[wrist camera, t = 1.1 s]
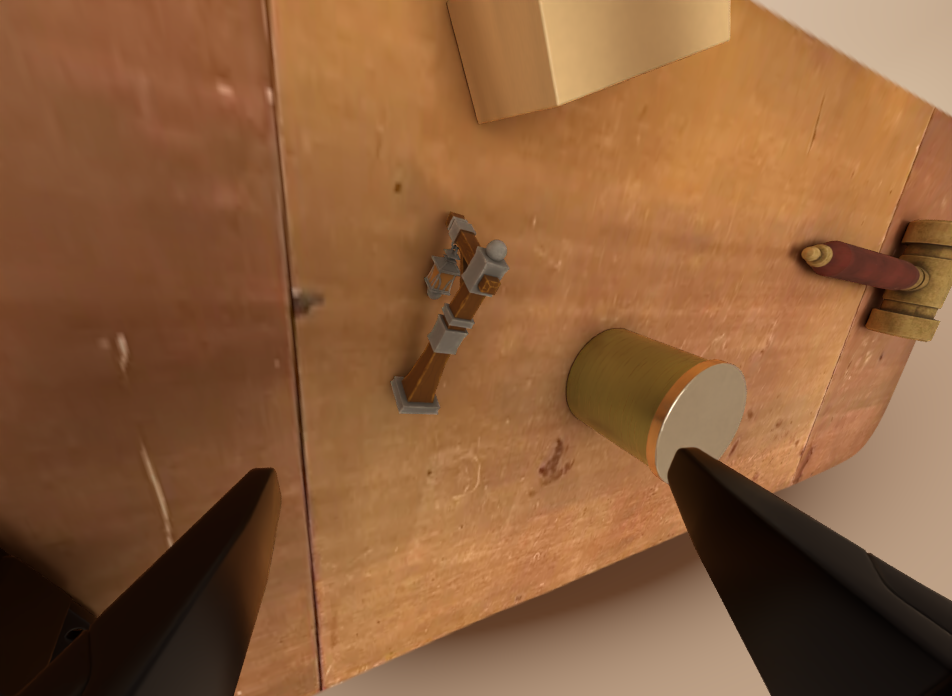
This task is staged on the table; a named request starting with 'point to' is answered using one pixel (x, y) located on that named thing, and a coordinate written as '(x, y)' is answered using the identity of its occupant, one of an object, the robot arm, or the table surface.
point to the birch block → (573, 46)
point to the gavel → (897, 277)
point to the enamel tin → (655, 397)
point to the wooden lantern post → (451, 311)
